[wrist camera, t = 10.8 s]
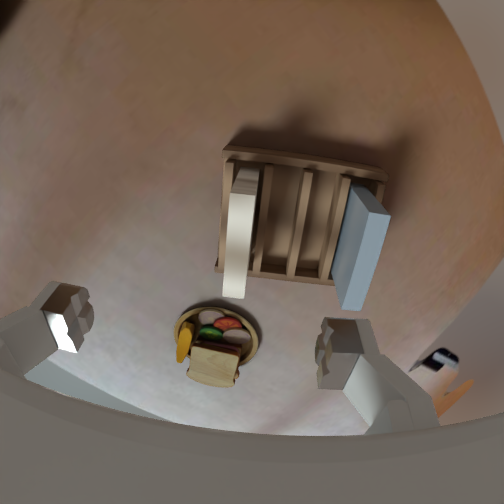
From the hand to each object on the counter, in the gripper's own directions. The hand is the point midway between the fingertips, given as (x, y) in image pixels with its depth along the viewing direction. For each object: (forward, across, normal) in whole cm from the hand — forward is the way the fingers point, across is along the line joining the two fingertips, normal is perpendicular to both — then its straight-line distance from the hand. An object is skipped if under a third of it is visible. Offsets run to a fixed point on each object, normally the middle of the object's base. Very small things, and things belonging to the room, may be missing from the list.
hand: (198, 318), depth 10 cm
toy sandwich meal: (+26, +2, +28) cm, 38 cm away
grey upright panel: (+25, -12, +7) cm, 28 cm away
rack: (+26, -6, +7) cm, 27 cm away
